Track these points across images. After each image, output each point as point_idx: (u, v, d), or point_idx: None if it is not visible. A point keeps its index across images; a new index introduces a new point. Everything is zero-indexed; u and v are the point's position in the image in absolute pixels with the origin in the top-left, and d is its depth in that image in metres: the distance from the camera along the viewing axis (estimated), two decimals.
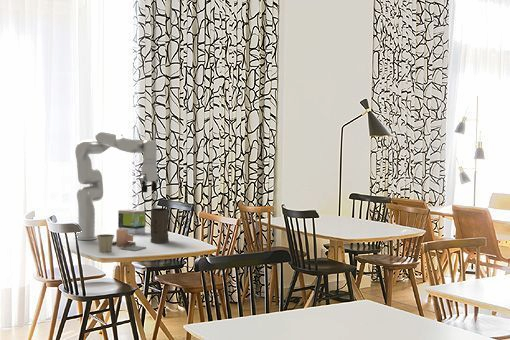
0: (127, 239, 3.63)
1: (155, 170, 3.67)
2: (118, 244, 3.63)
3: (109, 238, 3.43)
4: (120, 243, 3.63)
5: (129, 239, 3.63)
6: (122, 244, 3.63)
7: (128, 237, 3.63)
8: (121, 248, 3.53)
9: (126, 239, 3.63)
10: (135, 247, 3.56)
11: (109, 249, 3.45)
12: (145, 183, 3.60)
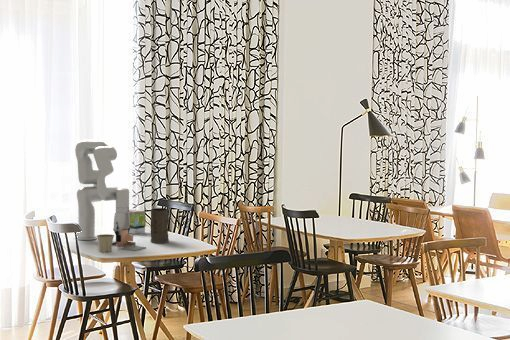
0: (127, 239, 3.63)
1: (128, 218, 3.66)
2: (118, 244, 3.63)
3: (109, 238, 3.43)
4: (120, 243, 3.62)
5: (129, 239, 3.63)
6: (122, 244, 3.63)
7: (128, 237, 3.63)
8: (121, 248, 3.53)
9: (126, 239, 3.63)
10: (135, 247, 3.56)
11: (109, 249, 3.45)
12: (118, 233, 3.61)
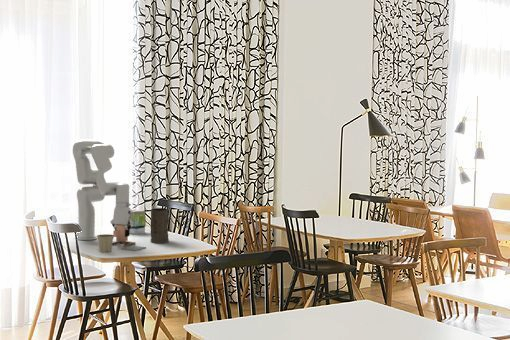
0: None
1: (123, 214, 3.62)
2: None
3: (109, 238, 3.43)
4: None
5: None
6: (116, 238, 3.65)
7: None
8: (121, 248, 3.53)
9: None
10: (135, 247, 3.56)
11: (109, 249, 3.45)
12: (114, 227, 3.66)
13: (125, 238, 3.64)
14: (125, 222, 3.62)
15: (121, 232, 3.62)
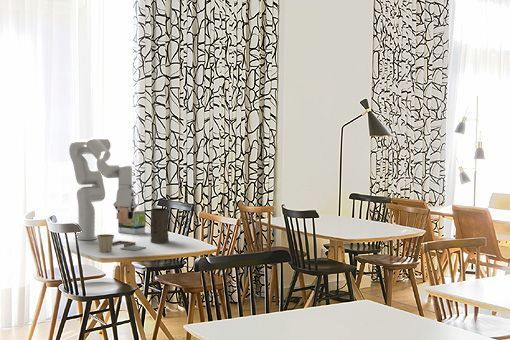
0: None
1: (126, 196, 3.59)
2: None
3: (109, 238, 3.43)
4: None
5: None
6: (119, 221, 3.62)
7: None
8: (121, 248, 3.53)
9: None
10: (135, 247, 3.56)
11: (109, 249, 3.45)
12: (117, 209, 3.63)
13: (128, 220, 3.61)
14: (128, 204, 3.59)
15: (124, 214, 3.59)
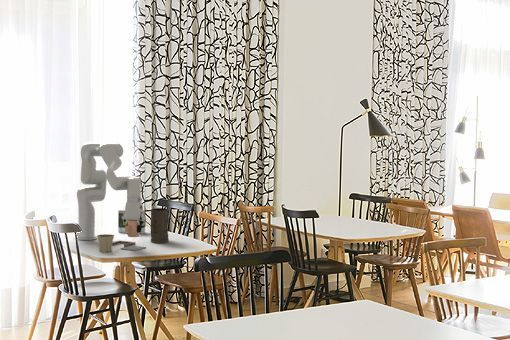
0: None
1: (135, 209, 3.51)
2: None
3: (109, 238, 3.43)
4: None
5: None
6: None
7: None
8: (121, 248, 3.53)
9: None
10: (135, 247, 3.56)
11: (109, 249, 3.45)
12: (125, 222, 3.55)
13: (137, 234, 3.53)
14: (137, 217, 3.51)
15: (132, 228, 3.52)
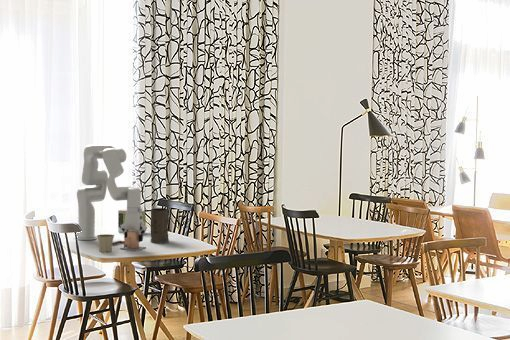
0: None
1: (134, 219, 3.51)
2: None
3: (109, 238, 3.43)
4: None
5: None
6: (127, 245, 3.55)
7: None
8: (121, 248, 3.53)
9: None
10: None
11: (109, 249, 3.45)
12: (123, 231, 3.56)
13: (136, 245, 3.53)
14: (137, 228, 3.51)
15: (132, 239, 3.52)
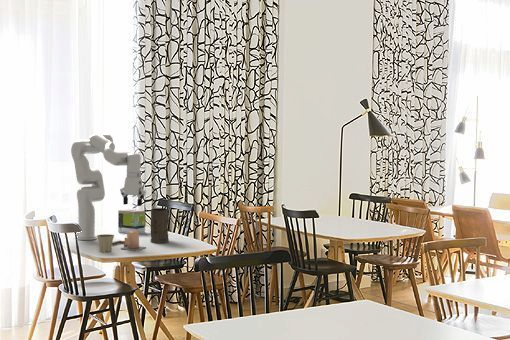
0: None
1: (134, 184, 3.58)
2: None
3: (109, 238, 3.43)
4: None
5: None
6: (127, 245, 3.55)
7: None
8: (121, 248, 3.53)
9: None
10: None
11: (109, 249, 3.45)
12: (123, 195, 3.63)
13: (136, 245, 3.54)
14: (136, 192, 3.58)
15: (132, 239, 3.52)
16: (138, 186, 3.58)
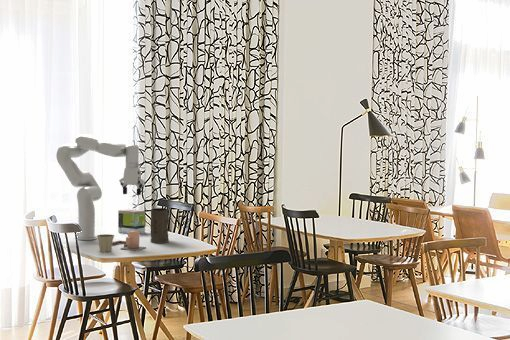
0: None
1: (133, 174, 3.72)
2: None
3: (109, 238, 3.43)
4: None
5: None
6: (127, 245, 3.54)
7: None
8: (121, 248, 3.53)
9: None
10: None
11: (109, 249, 3.45)
12: (122, 185, 3.77)
13: (137, 245, 3.54)
14: (135, 182, 3.72)
15: (133, 239, 3.52)
16: (137, 176, 3.72)
